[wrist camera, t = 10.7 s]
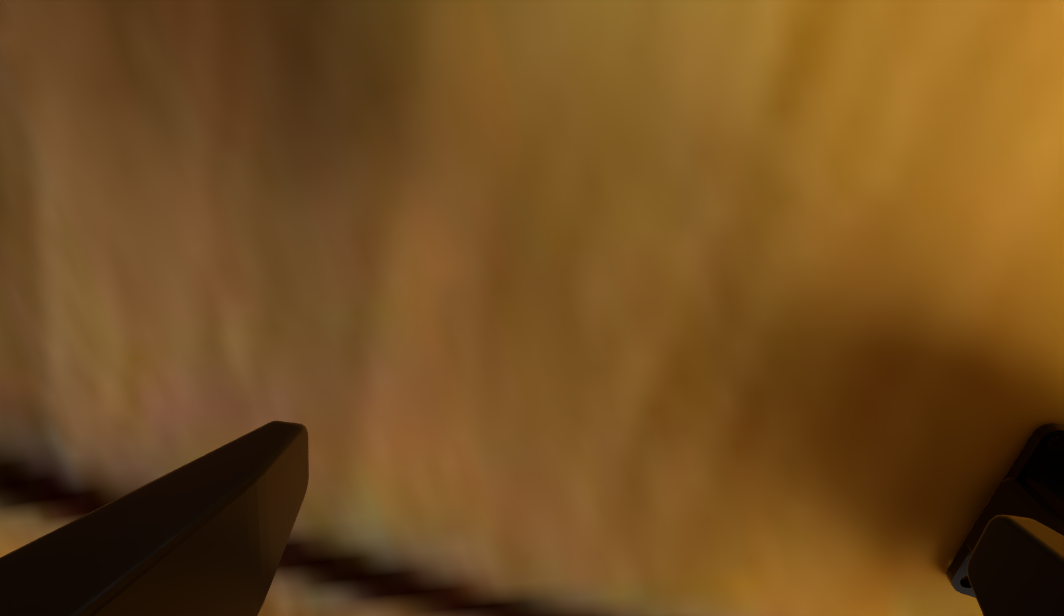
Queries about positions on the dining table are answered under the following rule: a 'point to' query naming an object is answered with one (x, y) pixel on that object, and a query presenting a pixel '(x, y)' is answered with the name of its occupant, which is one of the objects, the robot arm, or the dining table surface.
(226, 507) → the robot arm
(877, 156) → the dining table surface
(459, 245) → the dining table surface
